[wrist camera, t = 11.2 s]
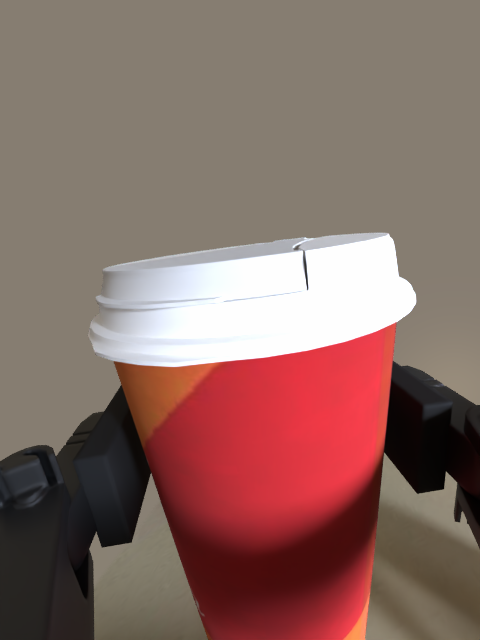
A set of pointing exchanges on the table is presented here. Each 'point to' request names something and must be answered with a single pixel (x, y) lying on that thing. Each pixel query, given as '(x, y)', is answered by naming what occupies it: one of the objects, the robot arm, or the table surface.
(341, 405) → the paper cup
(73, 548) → the robot arm
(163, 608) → the table surface
